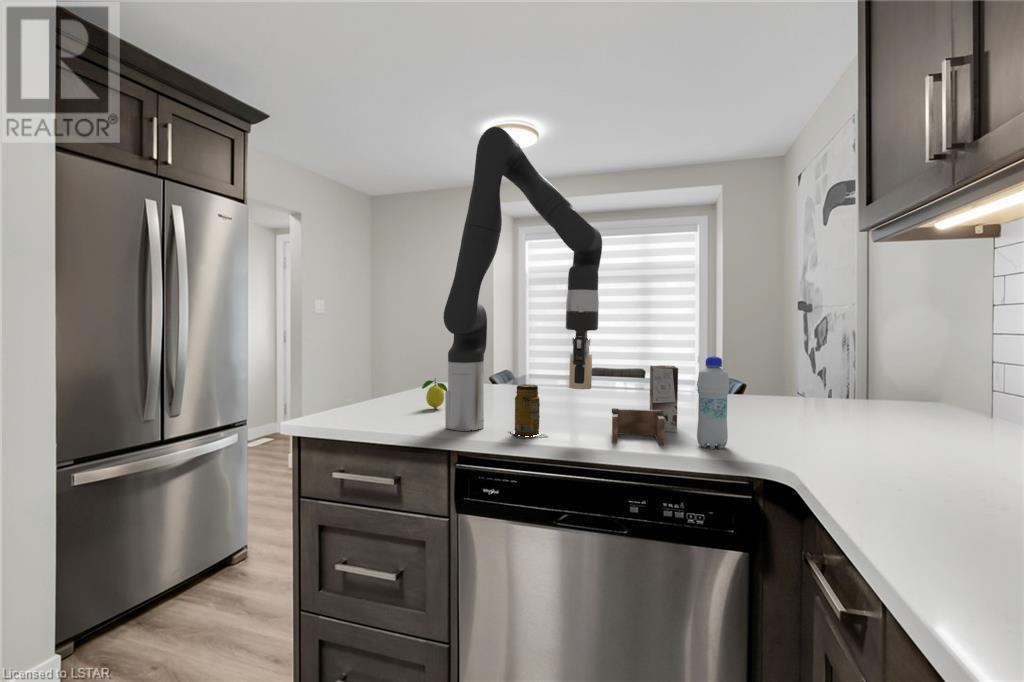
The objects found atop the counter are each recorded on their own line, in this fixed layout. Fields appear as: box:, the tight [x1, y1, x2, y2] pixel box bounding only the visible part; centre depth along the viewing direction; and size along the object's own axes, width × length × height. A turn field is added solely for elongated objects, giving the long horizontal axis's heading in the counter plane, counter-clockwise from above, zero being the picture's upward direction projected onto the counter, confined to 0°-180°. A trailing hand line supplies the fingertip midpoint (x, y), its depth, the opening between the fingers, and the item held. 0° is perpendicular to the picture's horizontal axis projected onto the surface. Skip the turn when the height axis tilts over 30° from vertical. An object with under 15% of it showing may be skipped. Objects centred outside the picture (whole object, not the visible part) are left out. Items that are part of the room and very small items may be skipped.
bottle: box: [696, 355, 730, 450], centre depth 111 cm, size 7×7×20 cm
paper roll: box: [568, 352, 593, 390], centre depth 119 cm, size 5×5×8 cm
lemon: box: [421, 377, 448, 410], centre depth 159 cm, size 7×6×10 cm
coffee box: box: [649, 365, 679, 433], centre depth 131 cm, size 9×6×16 cm
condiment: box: [508, 383, 549, 439], centre depth 123 cm, size 7×8×12 cm
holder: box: [611, 407, 665, 447], centre depth 119 cm, size 12×11×7 cm
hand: (580, 381), depth 119 cm, fingers closed on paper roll, 5 cm apart
